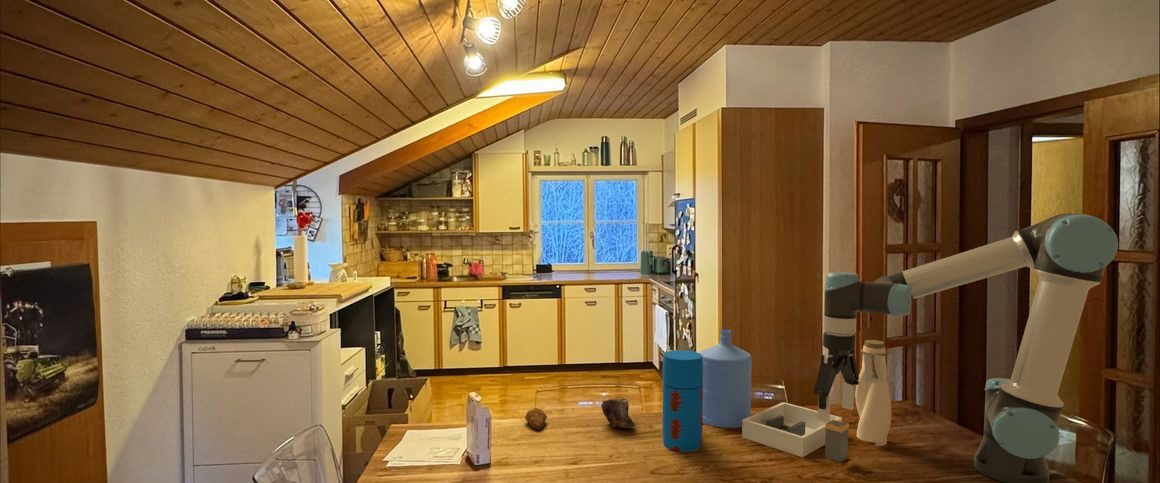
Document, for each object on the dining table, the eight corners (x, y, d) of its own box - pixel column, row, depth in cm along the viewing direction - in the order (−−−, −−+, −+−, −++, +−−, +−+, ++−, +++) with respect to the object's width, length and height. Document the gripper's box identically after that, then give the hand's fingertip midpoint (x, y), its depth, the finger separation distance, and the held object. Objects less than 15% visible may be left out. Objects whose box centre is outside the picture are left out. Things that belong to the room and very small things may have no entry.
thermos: (656, 447, 166) (657, 357, 164) (670, 433, 176) (670, 348, 174) (695, 454, 161) (696, 361, 159) (707, 440, 170) (707, 352, 169)
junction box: (841, 438, 172) (841, 417, 171) (802, 460, 157) (803, 438, 157) (782, 421, 185) (783, 402, 185) (742, 440, 170) (742, 419, 170)
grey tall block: (847, 461, 156) (848, 423, 156) (840, 466, 154) (841, 428, 153) (831, 456, 160) (832, 419, 159) (824, 461, 157) (825, 423, 156)
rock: (632, 423, 188) (599, 422, 188) (632, 394, 189) (600, 394, 188) (636, 431, 176) (601, 430, 176) (636, 401, 177) (602, 400, 177)
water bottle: (895, 450, 163) (899, 347, 161) (859, 447, 165) (862, 346, 163) (884, 435, 173) (887, 339, 171) (850, 433, 175) (853, 337, 173)
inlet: (805, 434, 172) (805, 422, 172) (791, 441, 167) (791, 429, 167) (779, 426, 178) (780, 415, 178) (765, 433, 173) (765, 421, 172)
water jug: (761, 428, 180) (762, 334, 178) (713, 433, 176) (714, 337, 174) (734, 410, 195) (735, 324, 193) (689, 415, 191) (690, 327, 189)
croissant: (523, 417, 191) (523, 401, 190) (545, 415, 192) (544, 400, 191) (526, 433, 177) (526, 416, 177) (549, 431, 178) (549, 415, 178)
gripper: (846, 323, 165) (843, 400, 167) (801, 337, 149) (797, 422, 150) (874, 328, 160) (871, 407, 161) (830, 343, 143) (827, 431, 145)
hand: (835, 414), depth 156 cm, fingers open, 13 cm apart
